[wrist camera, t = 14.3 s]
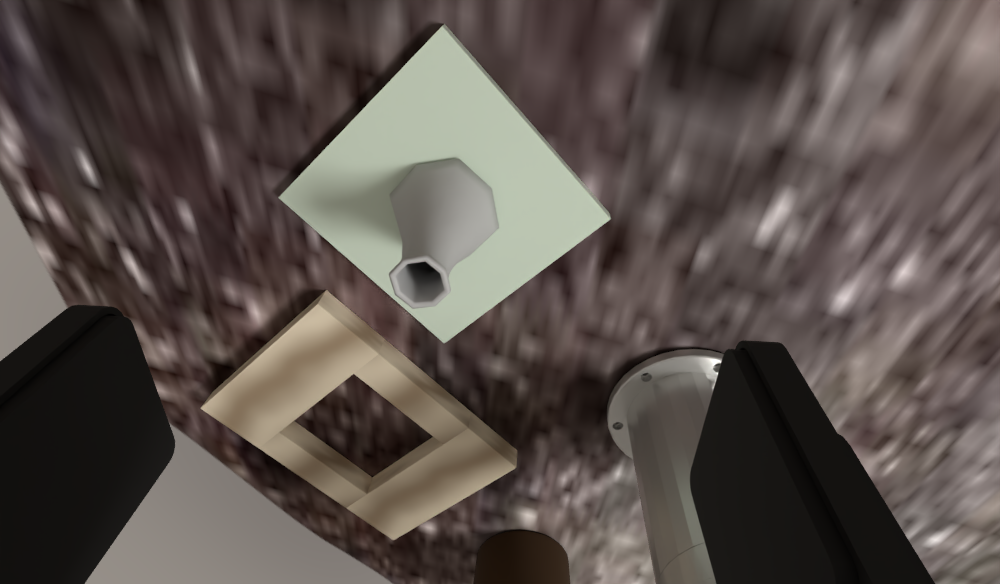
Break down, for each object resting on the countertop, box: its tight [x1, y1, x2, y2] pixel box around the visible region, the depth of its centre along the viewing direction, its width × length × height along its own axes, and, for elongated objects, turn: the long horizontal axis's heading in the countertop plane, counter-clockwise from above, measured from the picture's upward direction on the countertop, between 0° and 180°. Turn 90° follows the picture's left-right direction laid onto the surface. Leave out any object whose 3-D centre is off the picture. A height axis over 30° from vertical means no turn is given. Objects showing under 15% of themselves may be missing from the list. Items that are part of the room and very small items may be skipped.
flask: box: [389, 159, 499, 309], centre depth 35 cm, size 7×7×10 cm
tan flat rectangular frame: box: [201, 290, 517, 540], centre depth 51 cm, size 22×16×2 cm
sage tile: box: [279, 24, 611, 343], centre depth 40 cm, size 16×16×1 cm
